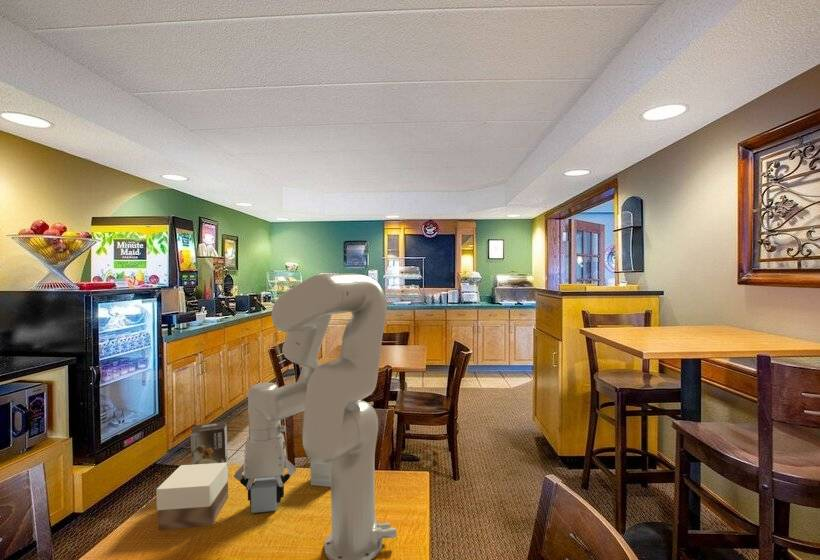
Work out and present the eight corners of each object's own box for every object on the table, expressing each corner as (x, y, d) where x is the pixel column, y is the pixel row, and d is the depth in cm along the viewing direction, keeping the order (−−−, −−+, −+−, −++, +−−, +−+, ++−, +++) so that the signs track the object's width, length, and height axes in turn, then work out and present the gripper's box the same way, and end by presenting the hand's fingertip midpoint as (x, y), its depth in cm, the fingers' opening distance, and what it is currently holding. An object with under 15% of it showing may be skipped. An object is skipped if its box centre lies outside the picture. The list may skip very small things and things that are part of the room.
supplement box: (334, 487, 111) (333, 443, 111) (309, 485, 113) (309, 441, 113) (343, 474, 118) (343, 433, 118) (320, 472, 120) (320, 431, 120)
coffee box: (229, 473, 120) (228, 420, 120) (226, 483, 114) (225, 428, 114) (195, 478, 117) (194, 424, 117) (191, 489, 111) (190, 432, 111)
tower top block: (227, 480, 107) (227, 462, 107) (209, 506, 95) (209, 485, 95) (181, 483, 105) (180, 465, 105) (156, 510, 93) (156, 489, 93)
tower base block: (228, 498, 107) (227, 480, 107) (212, 526, 95) (211, 505, 95) (181, 502, 105) (180, 484, 105) (158, 531, 93) (158, 510, 93)
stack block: (280, 497, 106) (280, 475, 106) (276, 510, 100) (275, 486, 100) (257, 499, 105) (256, 477, 105) (251, 513, 99) (250, 489, 99)
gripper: (300, 424, 107) (302, 490, 107) (234, 429, 105) (235, 496, 105) (296, 434, 100) (298, 506, 100) (224, 440, 98) (226, 513, 97)
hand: (266, 500), depth 102 cm, fingers closed on stack block, 6 cm apart
